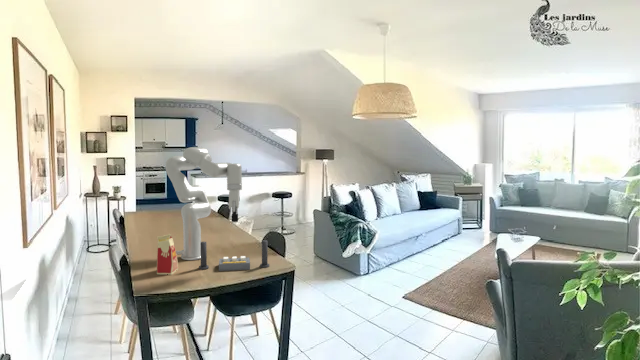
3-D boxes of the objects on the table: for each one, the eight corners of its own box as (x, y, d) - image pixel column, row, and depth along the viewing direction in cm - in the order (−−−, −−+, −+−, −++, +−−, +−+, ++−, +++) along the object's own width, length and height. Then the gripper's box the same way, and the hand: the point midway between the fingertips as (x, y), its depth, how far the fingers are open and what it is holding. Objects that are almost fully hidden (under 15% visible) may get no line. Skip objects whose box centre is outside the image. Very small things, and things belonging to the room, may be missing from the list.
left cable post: (198, 269, 208) (197, 243, 207) (199, 266, 213) (199, 241, 212) (207, 269, 209) (207, 243, 207) (209, 266, 214) (208, 241, 212)
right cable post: (260, 267, 213) (260, 242, 212) (260, 265, 218) (260, 240, 217) (269, 267, 214) (269, 242, 212) (269, 264, 219) (269, 239, 217)
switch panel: (218, 271, 207) (218, 261, 206) (219, 265, 216) (219, 255, 216) (250, 270, 210) (250, 259, 210) (249, 264, 220) (249, 254, 219)
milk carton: (178, 269, 209) (177, 231, 207) (172, 274, 200) (171, 235, 198) (160, 268, 209) (159, 231, 207) (153, 274, 199) (153, 235, 198)
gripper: (228, 185, 216) (228, 219, 218) (226, 188, 201) (226, 224, 203) (242, 185, 217) (242, 218, 219) (241, 188, 202) (241, 224, 204)
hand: (234, 221), depth 211 cm, fingers closed
